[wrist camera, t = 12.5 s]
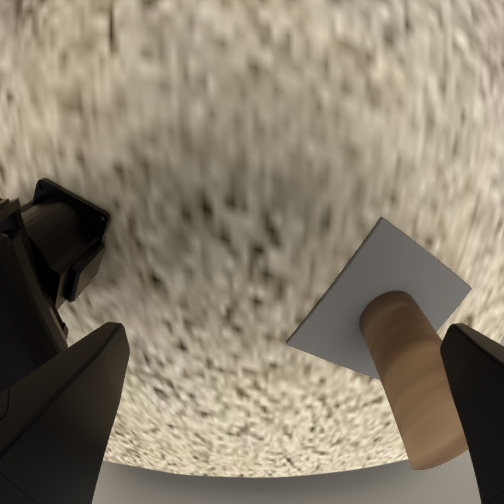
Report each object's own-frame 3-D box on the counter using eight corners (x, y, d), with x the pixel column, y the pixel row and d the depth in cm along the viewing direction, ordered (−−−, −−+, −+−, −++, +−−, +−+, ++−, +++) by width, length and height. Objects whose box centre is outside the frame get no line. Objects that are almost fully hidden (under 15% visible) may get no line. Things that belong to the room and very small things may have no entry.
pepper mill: (346, 328, 23) (393, 469, 12) (387, 280, 21) (468, 414, 10) (387, 347, 24) (438, 469, 13) (426, 305, 22) (500, 422, 11)
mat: (286, 341, 24) (286, 344, 24) (381, 216, 20) (383, 218, 19) (386, 380, 27) (387, 382, 26) (470, 286, 22) (472, 288, 22)
